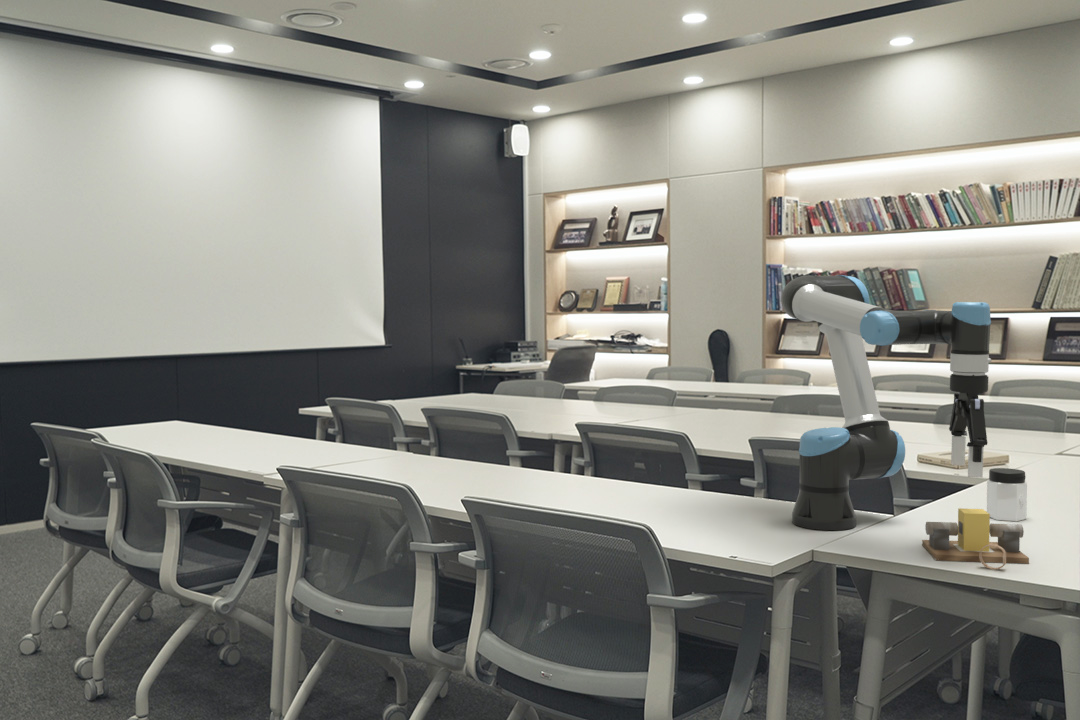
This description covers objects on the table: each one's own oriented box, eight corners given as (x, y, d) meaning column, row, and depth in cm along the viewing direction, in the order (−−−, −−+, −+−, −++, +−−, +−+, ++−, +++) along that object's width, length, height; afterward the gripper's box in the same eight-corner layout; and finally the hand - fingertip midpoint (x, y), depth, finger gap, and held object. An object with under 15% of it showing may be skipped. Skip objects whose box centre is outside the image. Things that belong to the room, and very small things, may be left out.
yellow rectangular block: (963, 550, 196) (963, 513, 196) (957, 544, 201) (957, 508, 201) (989, 551, 195) (990, 514, 195) (983, 545, 200) (983, 509, 200)
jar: (1012, 523, 227) (1013, 474, 226) (981, 517, 233) (981, 470, 233) (1032, 518, 231) (1032, 471, 231) (1000, 512, 238) (1001, 466, 238)
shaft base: (934, 560, 194) (934, 528, 193) (919, 545, 206) (920, 515, 206) (1031, 563, 190) (1032, 531, 190) (1010, 547, 203) (1011, 517, 203)
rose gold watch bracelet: (1004, 572, 185) (1004, 547, 184) (978, 568, 187) (978, 544, 187) (1006, 568, 187) (1006, 544, 187) (980, 565, 189) (980, 541, 189)
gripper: (1006, 379, 186) (1002, 483, 187) (971, 369, 210) (968, 461, 212) (966, 378, 187) (963, 481, 188) (936, 368, 211) (934, 460, 213)
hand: (966, 471), depth 200 cm, fingers open, 13 cm apart
